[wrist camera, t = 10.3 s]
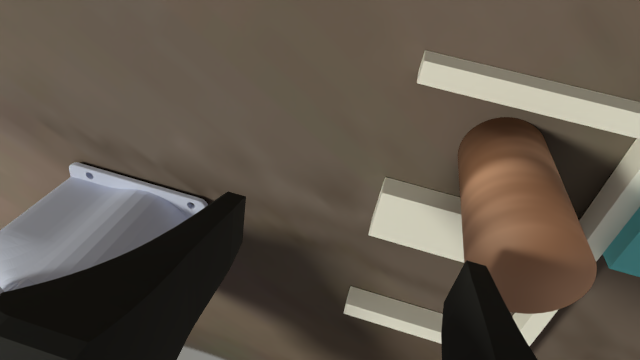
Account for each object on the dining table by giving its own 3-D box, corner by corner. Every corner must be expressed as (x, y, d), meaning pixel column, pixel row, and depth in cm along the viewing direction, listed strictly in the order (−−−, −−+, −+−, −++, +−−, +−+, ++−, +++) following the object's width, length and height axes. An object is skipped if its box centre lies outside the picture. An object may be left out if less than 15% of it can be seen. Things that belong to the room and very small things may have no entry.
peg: (446, 177, 22) (448, 293, 16) (475, 108, 20) (492, 211, 13) (524, 197, 22) (559, 326, 15) (562, 129, 19) (623, 247, 13)
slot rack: (347, 295, 29) (340, 326, 27) (425, 49, 19) (423, 68, 17) (532, 351, 28) (539, 388, 25) (718, 121, 18) (754, 150, 16)
